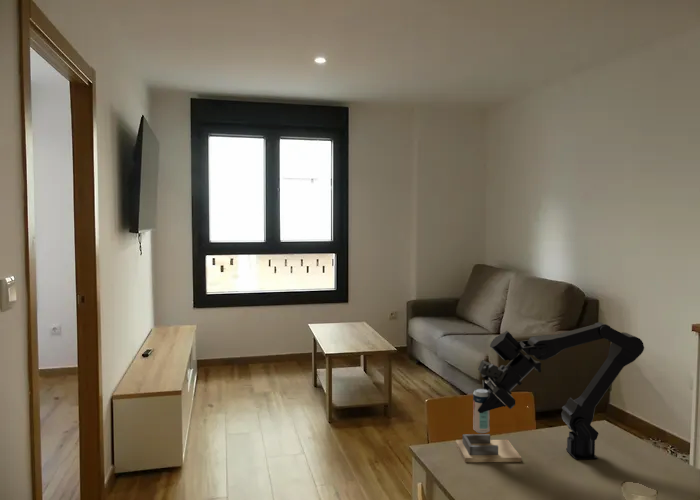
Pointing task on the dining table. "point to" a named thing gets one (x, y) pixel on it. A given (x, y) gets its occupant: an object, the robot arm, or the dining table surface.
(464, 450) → the seat board
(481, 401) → the beer can
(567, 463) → the dining table surface
